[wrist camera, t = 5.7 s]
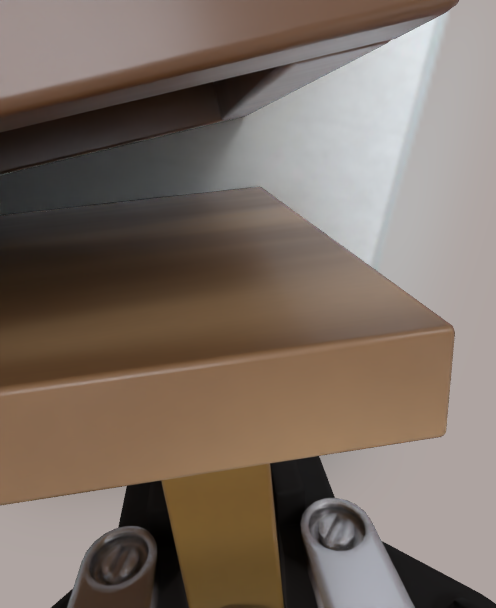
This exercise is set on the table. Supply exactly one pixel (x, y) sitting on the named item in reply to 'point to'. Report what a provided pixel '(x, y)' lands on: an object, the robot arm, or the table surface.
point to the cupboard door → (203, 366)
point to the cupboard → (169, 64)
